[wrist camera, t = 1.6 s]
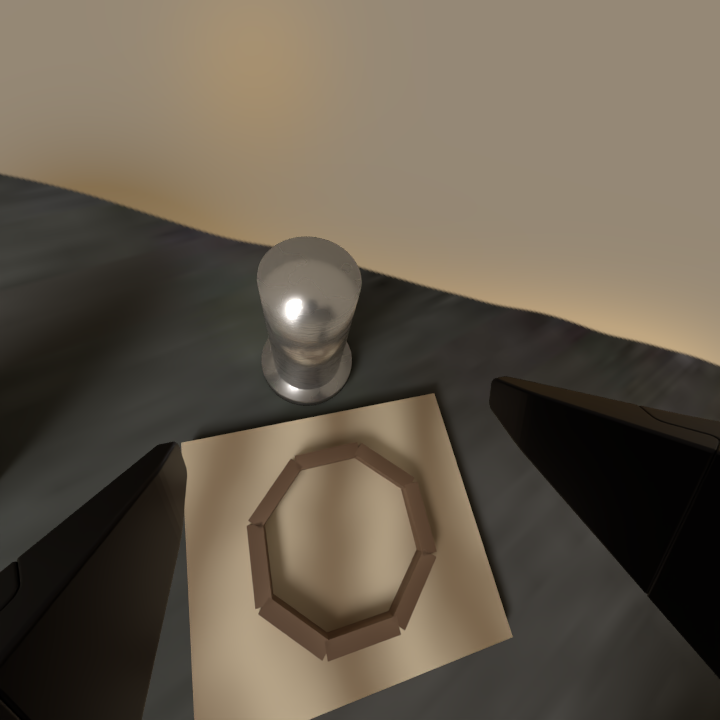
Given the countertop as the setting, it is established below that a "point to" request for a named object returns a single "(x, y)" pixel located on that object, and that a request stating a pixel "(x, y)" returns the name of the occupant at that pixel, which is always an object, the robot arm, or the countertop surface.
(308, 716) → the maple board
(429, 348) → the countertop surface
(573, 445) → the robot arm
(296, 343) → the aluminium hub pin
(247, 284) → the countertop surface
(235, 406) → the countertop surface
